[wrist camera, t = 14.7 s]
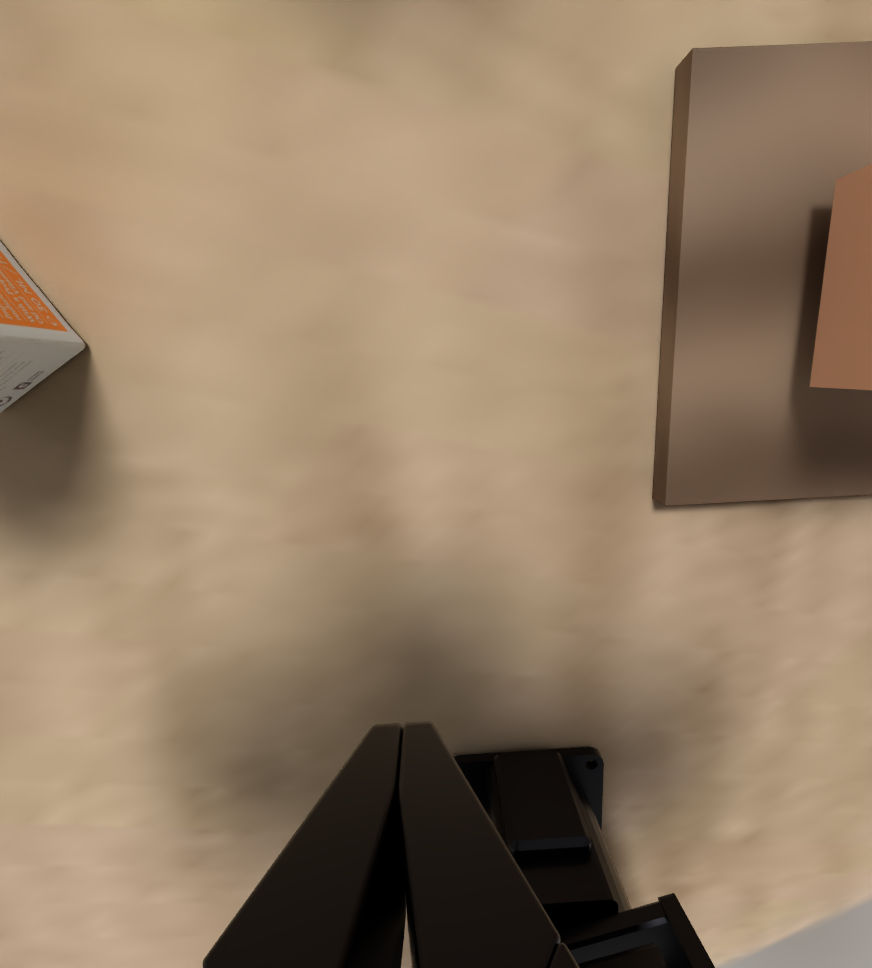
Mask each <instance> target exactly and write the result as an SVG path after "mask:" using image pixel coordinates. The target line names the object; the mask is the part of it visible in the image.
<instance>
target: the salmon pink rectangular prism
mask: <svg viewBox="0 0 872 968" xmlns="http://www.w3.org/2000/svg"><path fill="white" fill-rule="evenodd" d="M810 387H821V388H839V389H857V390H872V164H870V165H868V166H866V167H863V168H861V169H859V170H857V171H854V172H852V173H850V174H848V175H846V176H843V177H841V178H839V179H837V180H836V183H835V191H834V199H833V206H832V214H831V222H830V230H829V238H828V246H827V254H826V261H825V269H824V277H823V285H822V293H821V301H820V309H819V316H818V324H817V332H816V340H815V348H814V356H813V364H812V371H811V379H810Z"/></svg>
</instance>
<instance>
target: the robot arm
mask: <svg viewBox="0 0 872 968" xmlns="http://www.w3.org/2000/svg"><path fill="white" fill-rule="evenodd" d="M591 759H593V761H592V762H587V761H589V760H591ZM460 768H464V769H463V770H461V769H460ZM603 768H604V763H603V759H602V757H601V755H600V753H599V752H598V750H597V749H595V748H590V747H587V748H571V749H555V750H539V751H523V752H507V753H491V754H475V755H459V756H455V757H453V756H452V754H451V753H450V751H449V749H448V748H447V746H446V744H445V743H444V741H443V739H442V738H441V736H440V734H439V733H438V731H437V729H436V728H435V726H434V725H433V723H431V722H429V721H425V722H410V723H406V724H405V725H404V726H403V728H402V726H401V725H400V724H399V723H393V724H377V725H374V726H373V727H372V728H371V729H370V730H369V731H368V733H367V734H366V736H365V737H364V738H363V740H362V741H361V743H360V744H359V745H358V747H357V748H356V749H355V751H354V752H353V754H352V755H351V756H350V758H349V759H348V761H347V762H346V763H345V765H344V766H343V767H342V769H341V770H340V772H339V773H338V774H337V776H336V777H335V779H334V780H333V781H332V783H331V784H330V785H329V787H328V788H327V790H326V791H325V792H324V794H323V795H322V796H321V798H320V799H319V801H318V802H317V803H316V805H315V806H314V808H313V809H312V810H311V812H310V813H309V814H308V816H307V817H306V819H305V820H304V821H303V823H302V824H301V826H300V827H299V828H298V830H297V831H296V832H295V834H294V835H293V837H292V838H291V839H290V841H289V842H288V844H287V845H286V846H285V848H284V849H283V850H282V852H281V853H280V855H279V856H278V857H277V859H276V860H275V862H274V863H273V864H272V866H271V867H270V868H269V870H268V871H267V873H266V874H265V875H264V877H263V878H262V880H261V881H260V882H259V884H258V885H257V886H256V888H255V889H254V891H253V892H252V893H251V895H250V896H249V898H248V899H247V900H246V902H245V903H244V904H243V906H242V907H241V909H240V910H239V911H238V913H237V914H236V916H235V917H234V918H233V920H232V921H231V922H230V924H229V925H228V927H227V928H226V929H225V931H224V932H223V934H222V935H221V936H220V938H219V939H218V940H217V942H216V943H215V945H214V946H213V947H212V949H211V950H210V952H209V953H208V954H207V956H206V957H205V958H204V960H203V968H401V959H402V950H403V940H404V929H405V916H406V907H407V920H408V932H409V944H410V954H411V964H412V968H715V967H714V965H713V963H712V961H711V959H710V958H709V956H708V954H707V952H706V950H705V948H704V947H703V945H702V943H701V941H700V939H699V938H698V936H697V934H696V932H695V930H694V928H693V927H692V925H691V923H690V921H689V919H688V917H687V916H686V914H685V912H684V910H683V908H682V907H681V905H680V903H679V901H678V899H677V897H676V896H675V894H674V893H672V894H669V895H665V896H662V897H658V900H659V901H658V902H654V903H651V904H647V905H644V906H640V907H637V908H633V909H631V907H630V904H629V902H628V899H627V897H626V894H625V891H624V889H623V886H622V884H621V881H620V878H619V876H618V873H617V871H616V868H615V866H614V863H613V860H612V858H611V855H610V853H609V850H608V847H607V845H606V842H605V840H604V837H603V834H602V832H601V825H602V796H603Z"/></svg>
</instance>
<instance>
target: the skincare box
mask: <svg viewBox="0 0 872 968" xmlns="http://www.w3.org/2000/svg"><path fill="white" fill-rule="evenodd" d="M84 348H85V343H84V342H83V341H82V339H81V338H80V337H79V336H78V335H77V334H76V333H75V332H74V331H73V330H72V329H71V327H70V326H69V325H68V324H67V323H66V322H65V320H64V319H63V318H62V317H61V315H60V314H59V313H58V312H57V310H56V309H55V308H54V307H53V305H52V304H51V303H50V302H49V301H48V299H47V298H46V297H45V296H44V295H43V293H42V292H41V291H40V290H39V289H38V287H37V286H36V285H35V284H34V283H33V281H32V280H31V279H30V278H29V277H28V275H27V274H26V273H25V272H24V270H23V269H22V268H21V267H20V266H19V265H18V263H17V262H16V261H15V260H14V258H13V257H12V256H11V254H10V253H9V252H8V250H7V249H6V248H5V246H4V245H3V244H2V243H1V241H0V412H2V411H3V410H5V409H6V408H7V407H8V406H10V405H11V404H12V403H14V402H15V401H16V400H18V399H19V398H20V397H21V396H23V395H24V394H25V393H27V392H28V391H29V390H31V389H32V388H33V387H34V386H36V385H37V384H38V383H40V382H41V381H42V380H44V379H45V378H46V377H48V376H49V375H50V374H51V373H53V372H54V371H55V370H57V369H58V368H59V367H61V366H62V365H63V364H65V363H66V362H67V361H69V360H70V359H71V358H73V357H74V356H75V355H77V354H78V353H79V352H81V351H82V350H83V349H84Z"/></svg>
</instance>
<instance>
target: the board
mask: <svg viewBox="0 0 872 968" xmlns="http://www.w3.org/2000/svg"><path fill="white" fill-rule="evenodd" d="M870 164H872V41H868V42H842V43H817V44H791V45H766V46H740V47H714V48H693V49H692V50H691V51H690V52H689V53H688V55H687V56H686V57H685V58H684V59H683V60H682V62H681V63H680V64H679V65H678V66H677V67H676V77H675V95H674V114H673V132H672V151H671V169H670V188H669V206H668V225H667V243H666V262H665V280H664V299H663V317H662V336H661V354H660V373H659V391H658V409H657V428H656V446H655V465H654V483H653V499H655V500H656V501H658V502H660V503H661V504H663V505H665V506H668V505H686V504H704V503H723V502H741V501H759V500H778V499H796V498H814V497H833V496H851V495H869V494H872V390H857V389H839V388H821V387H810V379H811V371H812V364H813V356H814V348H815V340H816V332H817V324H818V316H819V309H820V301H821V293H822V285H823V277H824V269H825V261H826V254H827V246H828V238H829V230H830V222H831V214H832V206H833V199H834V191H835V183H836V180H837V179H839V178H841V177H843V176H846V175H848V174H850V173H852V172H854V171H857V170H859V169H861V168H863V167H866V166H868V165H870Z"/></svg>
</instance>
